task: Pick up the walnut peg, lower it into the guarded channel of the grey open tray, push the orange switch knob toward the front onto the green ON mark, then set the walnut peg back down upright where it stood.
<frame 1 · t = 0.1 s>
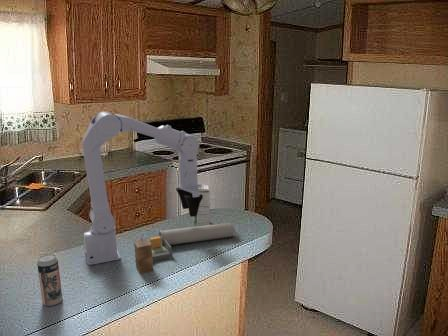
hand: (189, 212, 138), 10 cm above the counter, tool pointing down, fingers open, 7 cm apart
walnut peg: (144, 269, 122), on the counter
tube: (198, 241, 140), on the counter, touching grey open tray
switch knob: (155, 242, 132), point 3 cm above the counter, slide at 2.1 cm
beer can: (52, 302, 106), on the counter
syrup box: (202, 225, 154), on the counter
grey open tray: (156, 251, 133), on the counter
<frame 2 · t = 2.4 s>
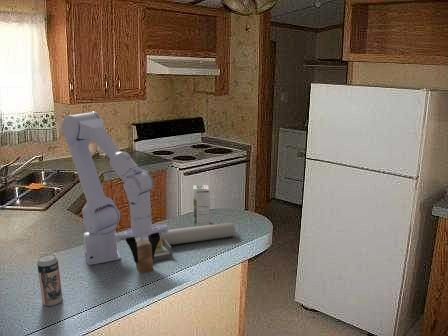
hand: (143, 259, 121), 3 cm above the counter, tool pointing down, fingers closed on walnut peg, 4 cm apart
walnut peg: (144, 269, 122), on the counter, touching gripper
everything else where it was.
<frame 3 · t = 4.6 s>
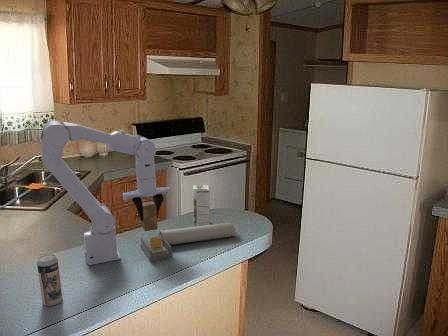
hand: (148, 218, 133), 10 cm above the counter, tool pointing down, fingers closed on walnut peg, 4 cm apart
walnut peg: (149, 228, 134), point 7 cm above the counter, touching gripper
everything else where it was.
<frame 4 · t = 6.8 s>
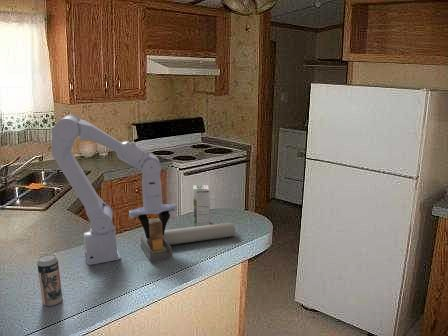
hand: (154, 235, 132), 5 cm above the counter, tool pointing down, fingers closed on walnut peg, 4 cm apart
walnut peg: (155, 244, 133), point 2 cm above the counter, touching gripper, switch knob
switch knob: (157, 244, 130), point 3 cm above the counter, slide at 4.1 cm, touching walnut peg
everything else where it was.
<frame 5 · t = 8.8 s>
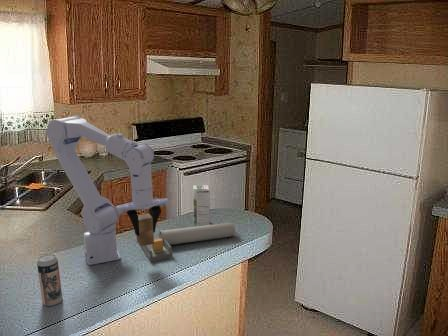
hand: (145, 232, 122), 10 cm above the counter, tool pointing down, fingers closed on walnut peg, 4 cm apart
walnut peg: (145, 242, 123), point 7 cm above the counter, touching gripper
switch knob: (157, 244, 130), point 3 cm above the counter, slide at 4.1 cm
everything else where it was.
when the fingers open (4 cm above the counter, at t = 10.6 s): walnut peg stays where it is, on the counter.
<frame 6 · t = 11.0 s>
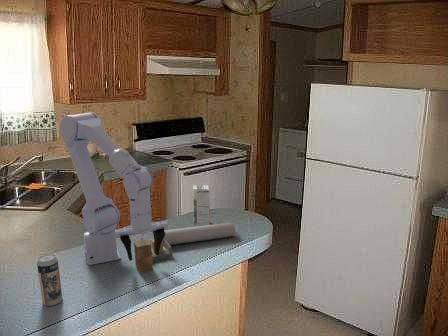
hand: (143, 256, 121), 4 cm above the counter, tool pointing down, fingers open, 7 cm apart
walnut peg: (144, 268, 122), on the counter
everything else where it was.
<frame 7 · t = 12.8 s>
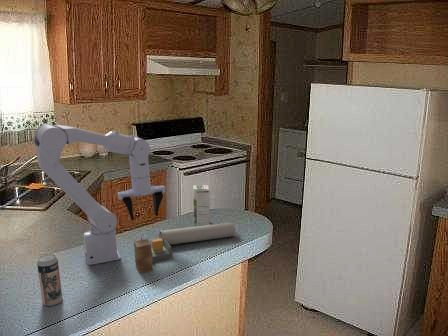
hand: (144, 217, 135), 10 cm above the counter, tool pointing down, fingers open, 7 cm apart
nothing on the counter moved.
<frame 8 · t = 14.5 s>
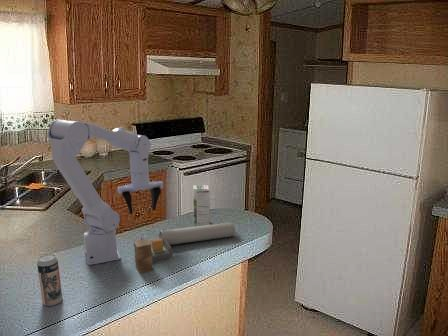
hand: (142, 211, 140), 10 cm above the counter, tool pointing down, fingers open, 7 cm apart
nothing on the counter moved.
at the end: switch knob slide at 4.1 cm; walnut peg 0.3 cm from the target spot, on the counter; walnut peg tilted 0° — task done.
